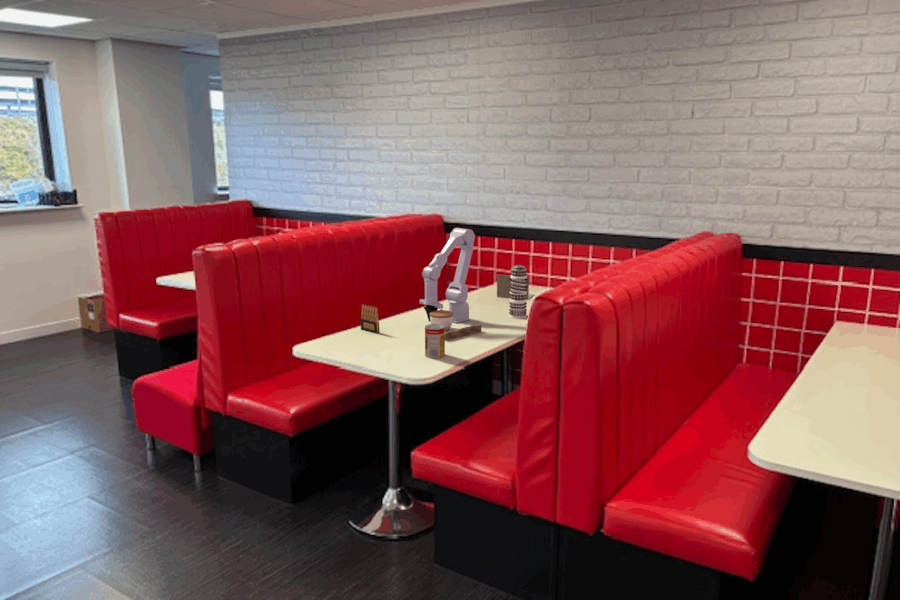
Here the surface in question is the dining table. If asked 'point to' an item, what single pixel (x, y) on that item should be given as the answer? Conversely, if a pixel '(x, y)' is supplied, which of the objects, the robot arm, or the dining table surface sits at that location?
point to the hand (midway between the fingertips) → (431, 321)
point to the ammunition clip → (369, 319)
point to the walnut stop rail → (462, 332)
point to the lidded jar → (442, 318)
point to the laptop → (504, 288)
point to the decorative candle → (518, 291)
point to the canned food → (434, 341)
